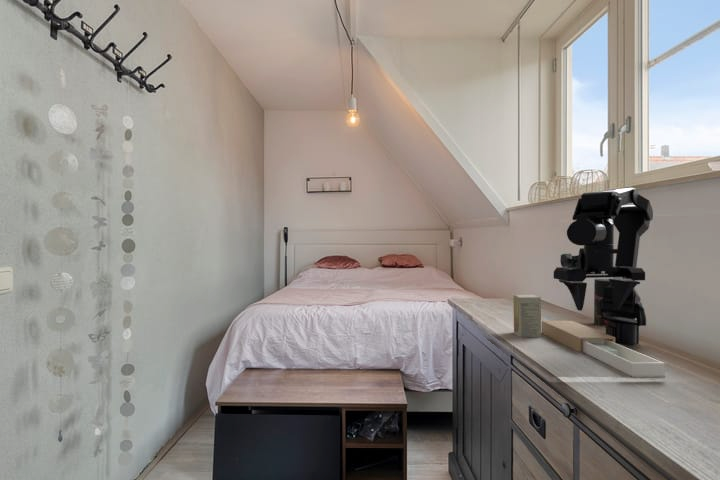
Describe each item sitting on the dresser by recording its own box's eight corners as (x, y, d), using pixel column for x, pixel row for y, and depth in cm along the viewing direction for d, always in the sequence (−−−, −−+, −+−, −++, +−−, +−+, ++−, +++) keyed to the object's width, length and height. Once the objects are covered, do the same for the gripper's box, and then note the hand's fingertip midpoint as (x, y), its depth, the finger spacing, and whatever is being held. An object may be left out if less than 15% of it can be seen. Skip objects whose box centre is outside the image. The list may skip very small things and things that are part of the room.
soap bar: (601, 350, 81) (601, 343, 81) (617, 358, 76) (617, 350, 76) (589, 350, 81) (589, 343, 81) (605, 358, 76) (605, 350, 76)
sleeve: (571, 335, 96) (571, 320, 96) (615, 355, 80) (615, 337, 80) (541, 335, 96) (541, 320, 96) (579, 355, 80) (579, 337, 80)
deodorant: (600, 327, 105) (600, 281, 105) (590, 322, 111) (590, 278, 111) (620, 328, 104) (621, 281, 104) (609, 323, 110) (610, 279, 110)
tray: (604, 350, 82) (604, 338, 82) (664, 377, 66) (664, 363, 66) (577, 350, 82) (577, 338, 82) (631, 377, 66) (631, 363, 66)
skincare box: (535, 335, 96) (535, 294, 96) (541, 340, 91) (542, 297, 91) (512, 335, 96) (512, 294, 96) (518, 339, 92) (518, 296, 92)
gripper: (607, 243, 86) (607, 302, 86) (539, 243, 85) (539, 303, 85) (647, 244, 75) (647, 312, 75) (569, 245, 74) (569, 314, 74)
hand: (598, 309), depth 78 cm, fingers open, 9 cm apart
